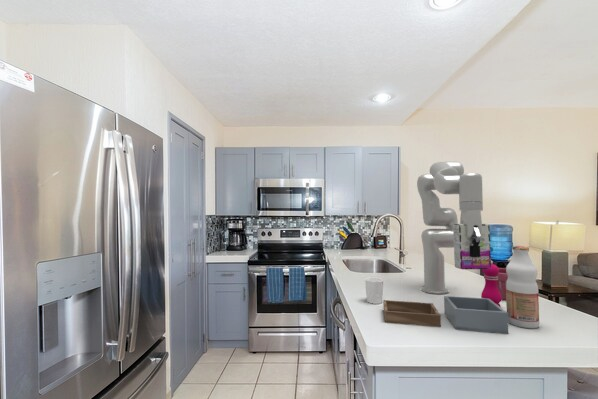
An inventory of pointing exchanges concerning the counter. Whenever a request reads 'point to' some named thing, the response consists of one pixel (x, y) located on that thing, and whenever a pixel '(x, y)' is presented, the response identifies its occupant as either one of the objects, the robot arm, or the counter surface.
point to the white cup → (374, 290)
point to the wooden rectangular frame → (411, 313)
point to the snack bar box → (463, 249)
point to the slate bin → (475, 314)
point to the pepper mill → (491, 284)
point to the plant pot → (502, 282)
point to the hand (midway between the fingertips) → (471, 255)
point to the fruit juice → (522, 290)
